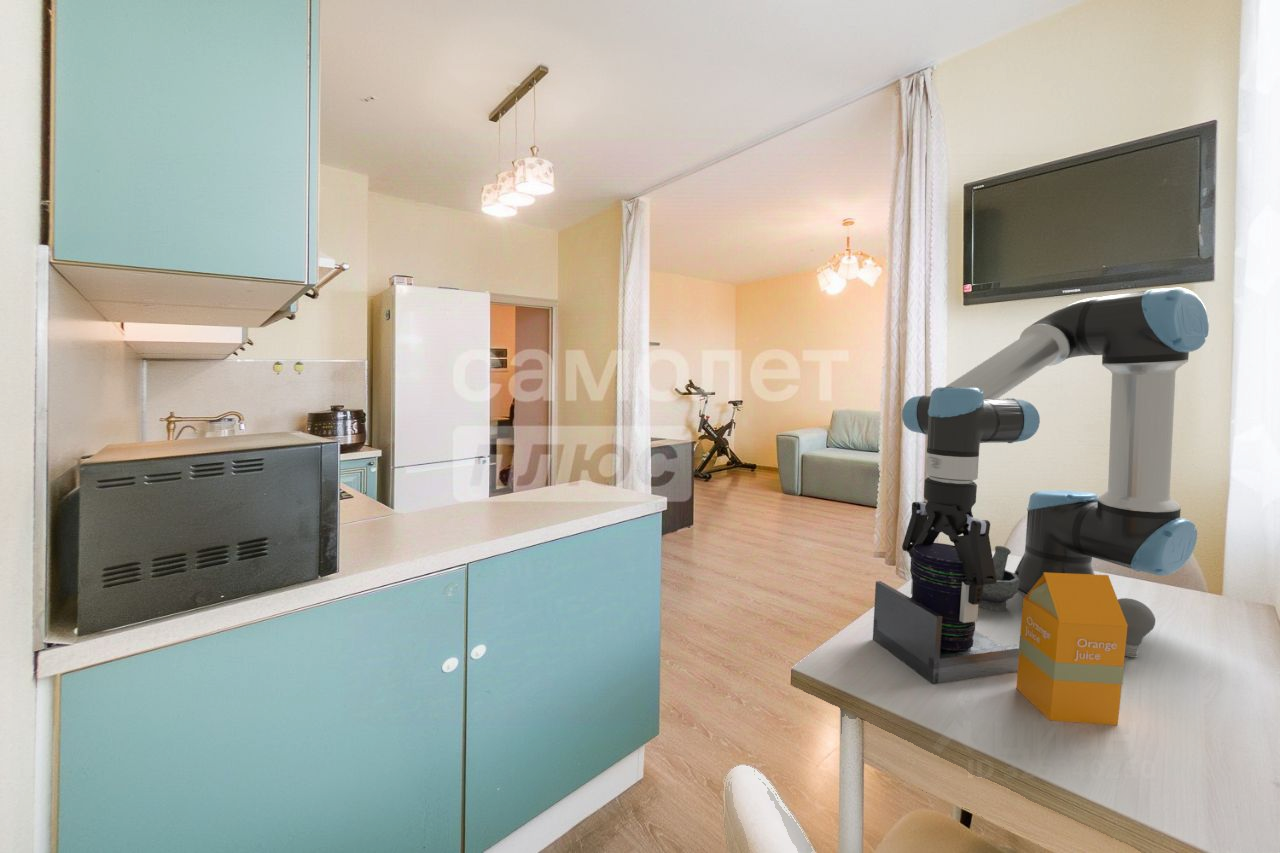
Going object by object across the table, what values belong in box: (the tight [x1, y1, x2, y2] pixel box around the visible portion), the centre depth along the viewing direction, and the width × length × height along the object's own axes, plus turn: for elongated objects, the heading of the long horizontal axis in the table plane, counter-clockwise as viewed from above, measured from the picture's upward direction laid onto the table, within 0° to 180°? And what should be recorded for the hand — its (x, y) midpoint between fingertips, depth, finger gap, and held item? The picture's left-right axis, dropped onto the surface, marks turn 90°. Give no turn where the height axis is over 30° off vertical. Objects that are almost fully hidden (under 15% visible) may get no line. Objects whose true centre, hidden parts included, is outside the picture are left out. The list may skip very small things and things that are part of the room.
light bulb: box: [1117, 597, 1156, 658], centre depth 87 cm, size 6×6×10 cm
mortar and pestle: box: [978, 545, 1019, 612], centre depth 107 cm, size 11×9×12 cm
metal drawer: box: [872, 580, 1019, 685], centre depth 87 cm, size 17×14×11 cm
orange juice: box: [1015, 572, 1128, 726], centre depth 73 cm, size 8×9×20 cm
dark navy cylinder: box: [910, 542, 976, 650], centre depth 86 cm, size 10×10×15 cm
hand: (942, 606), depth 86 cm, fingers closed on dark navy cylinder, 10 cm apart
